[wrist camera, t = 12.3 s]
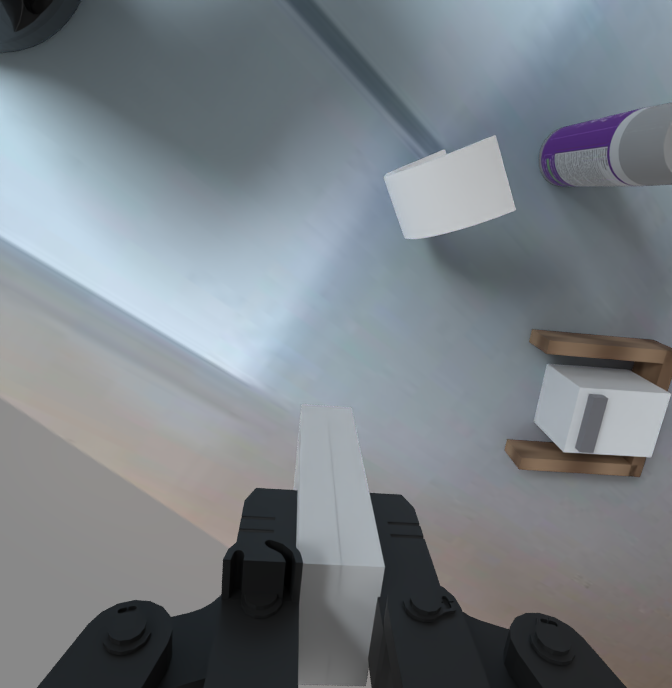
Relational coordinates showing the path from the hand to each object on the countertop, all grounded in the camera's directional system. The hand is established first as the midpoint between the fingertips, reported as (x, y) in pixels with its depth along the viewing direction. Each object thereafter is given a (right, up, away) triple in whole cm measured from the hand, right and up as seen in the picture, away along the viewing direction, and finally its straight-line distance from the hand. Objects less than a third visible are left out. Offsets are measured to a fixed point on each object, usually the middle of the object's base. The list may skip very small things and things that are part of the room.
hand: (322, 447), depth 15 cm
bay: (+23, -2, +33) cm, 40 cm away
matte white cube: (+24, -2, +33) cm, 41 cm away
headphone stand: (+7, +16, +27) cm, 32 cm away
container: (+19, +19, +26) cm, 38 cm away
